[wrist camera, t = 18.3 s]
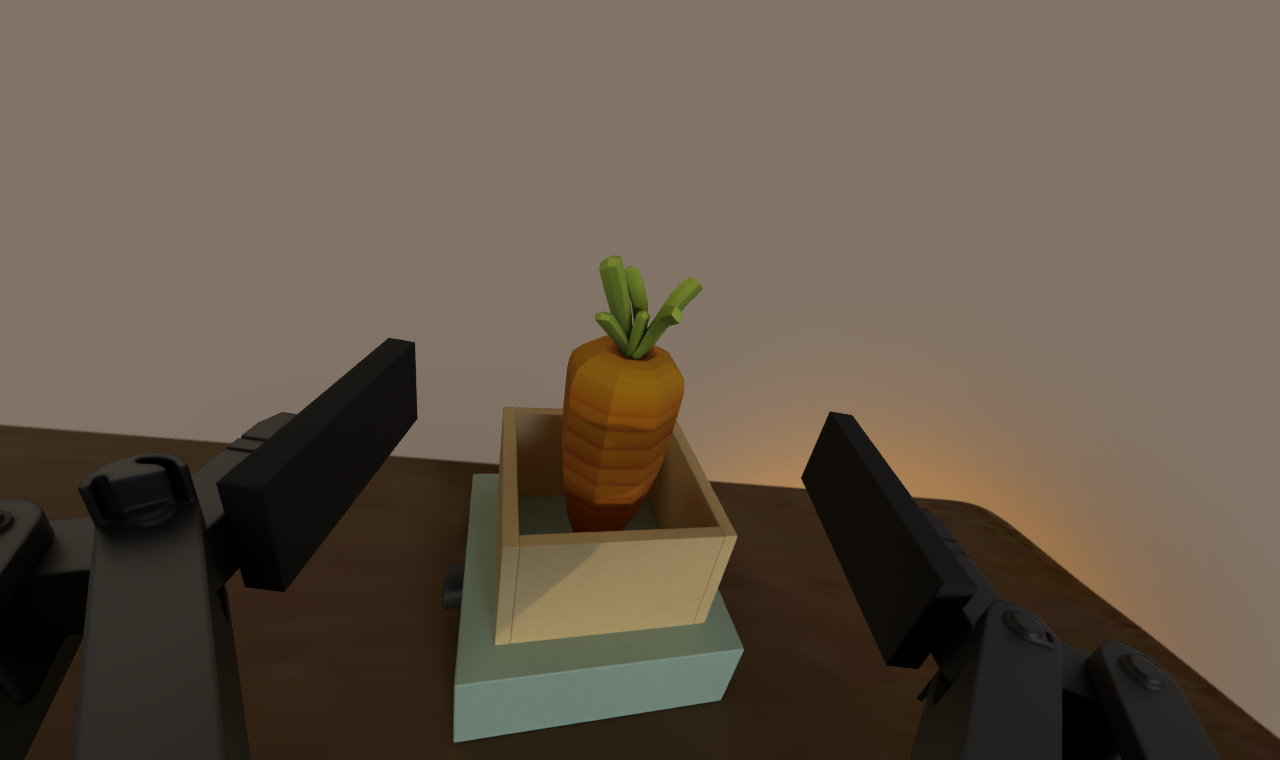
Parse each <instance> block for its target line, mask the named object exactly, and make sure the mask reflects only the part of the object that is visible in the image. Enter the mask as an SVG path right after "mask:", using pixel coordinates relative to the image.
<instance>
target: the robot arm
mask: <svg viewBox="0 0 1280 760" xmlns="http://www.w3.org/2000/svg"><path fill="white" fill-rule="evenodd" d="M415 361H416V360H415V342H410V341H404V340H399V339H392V338H388V339H387V340H386V341H385V342H383V343H382V344H381V345H380V346H379V347H377V348H376V349H375V350H374V351H373V352H371V353H370V354H369V355H368V356H367V357H365V358H364V359H363V360H362V361H361V362H359V363H358V364H357V365H356V366H355V367H353V368H352V369H351V370H350V371H349V372H347V373H346V374H345V375H344V376H343V377H342V378H340V379H339V380H338V381H337V382H336V383H334V384H333V385H332V386H331V387H329V388H328V389H327V390H326V391H325V392H324V393H322V394H321V395H320V396H319V397H318V398H316V399H315V400H314V401H313V402H312V403H310V404H309V405H308V406H307V407H306V408H304V409H303V410H302V411H301V412H300V413H298V414H291V413H284V412H282V413H279V414H277V415H275V416H272V417H270V418H268V419H265V420H263V421H261V422H259V423H257V424H256V425H255V426H253V427H252V428H251V429H249V430H248V431H247V432H246V433H244V434H243V435H242V437H241V439H239V438H238V439H237V440H235V441H234V442H233V443H231V444H230V445H229V446H227V449H226V450H222V451H221V452H220V453H218V454H217V455H216V456H215V457H213V458H212V459H211V460H209V461H208V462H207V463H205V464H204V465H203V466H202V467H200V468H199V469H198V470H196V471H195V472H194V473H193V474H190V470H189V467H188V464H187V463H186V461H185V460H184V458H183V457H180V456H178V455H175V454H172V453H160V452H154V453H145V454H136V455H133V456H129V457H125V458H121V459H118V460H115V461H112V462H110V463H108V464H106V465H104V466H101V467H99V468H97V469H96V470H94V471H93V472H92V473H90V474H89V475H88V476H86V477H85V478H84V479H83V480H82V482H81V484H80V486H79V487H78V490H79V492H80V494H81V496H82V498H83V501H84V503H85V505H86V507H87V509H88V512H89V514H90V516H91V517H79V518H67V519H55V520H48V519H47V517H46V515H45V513H44V511H43V509H42V508H41V507H40V506H39V504H38V503H37V502H34V501H30V500H26V499H2V500H0V760H24V758H25V756H26V754H27V752H28V750H29V748H30V746H31V744H32V742H33V740H34V738H35V736H36V734H37V732H38V730H39V728H40V726H41V724H42V721H43V719H44V717H45V715H46V713H47V711H48V709H49V707H50V705H51V703H52V701H53V699H54V697H55V695H56V693H57V691H58V689H59V686H60V684H61V682H62V680H63V678H64V676H65V674H66V672H67V670H68V668H69V666H70V664H71V662H72V660H73V658H74V656H75V654H76V652H77V649H78V647H79V645H80V643H81V641H82V639H83V643H82V653H81V662H80V672H79V681H78V691H77V700H76V710H75V719H74V729H73V738H72V748H71V757H70V760H251V758H250V750H249V743H248V736H247V729H246V722H245V715H244V708H243V700H242V693H241V686H240V679H239V672H238V665H237V658H236V650H235V643H234V636H233V629H232V622H231V615H230V607H229V600H228V594H227V590H226V587H225V583H226V582H227V581H228V580H229V579H230V578H231V577H232V575H233V574H234V573H235V572H236V571H237V570H238V569H239V568H240V570H241V574H242V577H243V581H244V585H245V587H247V588H255V589H264V590H272V591H280V592H285V591H286V589H287V588H288V587H289V586H290V584H291V583H292V582H293V580H294V579H295V578H296V576H297V575H298V574H299V573H300V571H301V570H302V569H303V567H304V566H305V565H306V563H307V562H308V561H309V559H310V558H311V557H312V556H313V554H314V553H315V552H316V550H317V549H318V548H319V546H320V545H321V544H322V542H323V541H324V540H325V539H326V537H327V536H328V535H329V533H330V532H331V531H332V529H333V528H334V527H335V526H336V524H337V523H338V522H339V520H340V519H341V518H342V516H343V515H344V514H345V512H346V511H347V510H348V509H349V507H350V506H351V505H352V503H353V502H354V501H355V499H356V498H357V497H358V496H359V494H360V493H361V492H362V490H363V489H364V488H365V486H366V485H367V484H368V482H369V481H370V480H371V479H372V477H373V476H374V475H375V473H376V472H377V471H378V469H379V468H380V467H381V466H382V464H383V463H384V462H385V460H386V459H387V458H388V456H389V455H390V454H391V452H392V451H393V450H394V448H395V447H396V446H397V445H398V443H399V442H400V441H401V439H402V438H403V437H404V435H405V434H406V433H407V432H408V430H409V429H410V428H411V426H412V425H413V423H414V422H415V421H416V420H417V392H416V362H415ZM801 479H802V481H803V483H804V485H805V487H806V490H807V492H808V494H809V496H810V498H811V501H812V503H813V505H814V507H815V509H816V512H817V514H818V516H819V518H820V520H821V523H822V525H823V527H824V529H825V531H826V534H827V536H828V538H829V540H830V542H831V545H832V547H833V549H834V551H835V553H836V556H837V558H838V560H839V562H840V564H841V567H842V569H843V571H844V573H845V575H846V578H847V580H848V582H849V584H850V586H851V588H852V591H853V593H854V595H855V597H856V599H857V602H858V604H859V606H860V608H861V610H862V613H863V615H864V617H865V619H866V621H867V624H868V626H869V628H870V630H871V632H872V635H873V637H874V639H875V641H876V643H877V646H878V648H879V650H880V652H881V654H882V657H883V659H884V661H885V663H886V665H887V666H895V667H903V668H911V669H919V667H920V666H921V665H922V663H923V662H924V661H925V659H926V658H927V657H928V655H929V654H930V653H931V654H932V655H933V657H934V659H935V661H936V663H937V665H938V666H939V668H940V669H939V670H938V671H937V673H936V674H935V675H934V677H933V678H932V679H931V680H930V682H929V683H928V684H927V685H926V687H925V688H924V689H923V691H922V692H921V693H920V695H919V696H918V697H917V699H918V700H920V701H921V702H922V701H923V700H924V699H925V698H926V697H927V699H926V702H925V706H924V709H923V713H922V717H921V720H920V724H919V727H918V731H917V734H916V738H915V742H914V745H913V749H912V752H911V756H910V759H909V760H1117V759H1118V758H1120V757H1121V760H1221V758H1220V757H1219V755H1218V753H1217V751H1216V749H1215V748H1214V746H1213V744H1212V742H1211V740H1210V739H1209V737H1208V735H1207V733H1206V732H1205V730H1204V728H1203V726H1202V724H1201V723H1200V721H1199V719H1198V717H1197V715H1196V714H1195V712H1194V710H1193V708H1192V707H1191V705H1190V703H1189V701H1188V699H1187V698H1186V696H1185V694H1184V692H1183V691H1182V689H1181V688H1180V687H1179V685H1178V684H1177V683H1176V681H1175V680H1174V679H1173V678H1172V677H1171V676H1170V675H1169V674H1168V673H1167V672H1166V671H1165V670H1164V669H1163V668H1162V667H1161V666H1160V665H1159V664H1158V663H1156V662H1155V661H1154V660H1153V659H1152V660H1151V659H1150V657H1148V656H1147V655H1145V654H1143V653H1142V652H1139V651H1137V650H1135V649H1134V648H1132V647H1130V646H1128V645H1125V644H1122V643H1119V642H1116V641H1105V642H1104V643H1103V644H1102V645H1101V646H1100V647H1099V648H1098V649H1097V650H1096V651H1095V652H1094V653H1093V654H1091V653H1089V652H1086V651H1084V650H1081V649H1078V648H1076V647H1073V646H1071V645H1068V644H1066V643H1063V642H1060V641H1059V639H1058V638H1057V636H1056V635H1055V634H1054V632H1053V631H1052V629H1051V628H1050V627H1049V626H1048V625H1047V624H1045V623H1044V622H1043V621H1042V620H1041V619H1040V618H1039V617H1038V616H1036V615H1035V614H1033V613H1032V612H1030V611H1029V610H1027V609H1026V608H1024V607H1022V606H1019V605H1017V604H1015V603H1013V602H1009V601H1005V600H1003V599H1002V598H1001V597H1000V596H999V594H998V593H997V592H996V590H995V589H994V588H993V586H992V585H991V584H990V582H989V581H988V580H987V579H986V577H985V576H984V575H983V573H982V572H981V571H980V569H979V568H978V567H977V565H976V564H975V563H974V562H973V560H972V559H971V558H970V556H969V555H966V551H965V550H964V548H963V547H962V546H961V544H960V543H959V542H956V538H955V537H954V535H953V534H952V533H951V531H950V530H949V529H948V527H947V526H946V525H945V524H944V523H943V522H942V521H941V520H940V519H939V518H937V517H936V516H935V515H934V514H933V513H931V512H930V511H929V510H928V509H926V508H920V507H919V506H918V505H917V503H916V502H915V500H914V499H913V498H912V496H911V495H910V494H909V492H908V491H907V490H906V488H905V487H904V485H903V484H902V483H901V481H900V480H899V479H898V477H897V476H896V474H895V473H894V472H893V470H892V469H891V468H890V466H889V465H888V464H887V462H886V461H885V459H884V458H883V457H882V455H881V454H880V453H879V451H878V450H877V448H876V447H875V446H874V444H873V443H872V442H871V440H870V439H869V437H868V436H867V435H866V434H865V432H864V431H863V429H862V428H861V427H860V425H859V424H858V422H857V421H856V420H855V418H854V417H853V416H852V415H848V414H842V413H836V412H829V415H828V417H827V419H826V422H825V424H824V426H823V428H822V431H821V433H820V435H819V438H818V440H817V442H816V445H815V447H814V449H813V452H812V454H811V456H810V458H809V461H808V463H807V465H806V468H805V470H804V473H803V475H802V477H801Z"/></svg>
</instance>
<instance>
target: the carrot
mask: <svg viewBox="0 0 1280 760" xmlns="http://www.w3.org/2000/svg"><path fill="white" fill-rule="evenodd" d="M599 270H600V274H601V279H602V283H603V287H604V291H605V294H606V298H607V301H608V304H609V308H610V311H611V314H610V313H607V312H600V313H597V314H595V320H596V321H597V322H598V323H599V325H600V326H601V327H602V328H603V329H604V331H605V332H606V333H607V334H608V335H609V336H604V337H601V338H598V339H596V340H593V341H590V342H588V343H585V344H583V345H581V346H579V347H578V348H576V349H575V350H573V352H572V354H571V356H570V358H569V362H568V367H567V376H566V386H565V396H564V406H563V421H562V436H561V446H562V464H563V477H564V488H565V498H566V507H567V515H568V518H569V521H570V524H571V527H572V530H573V533H583V532H606V531H623V529H624V528H625V527H626V526H627V525H628V523H629V522H630V521H631V520H632V519H633V517H634V516H635V515H636V514H637V512H638V510H639V508H640V507H641V505H642V503H643V501H644V499H645V498H646V496H647V494H648V492H649V490H650V488H651V486H652V484H653V482H654V480H655V478H656V476H657V474H658V472H659V470H660V468H661V465H662V462H663V459H664V456H665V453H666V450H667V447H668V444H669V441H670V438H671V435H672V432H673V429H674V425H675V422H676V418H677V415H678V412H679V409H680V405H681V402H682V398H683V394H684V378H683V377H682V375H681V373H680V371H679V369H678V367H677V366H676V364H675V362H674V360H673V358H672V357H671V355H670V354H669V353H668V352H667V351H665V350H664V349H662V348H660V347H658V346H655V345H654V344H655V343H656V341H657V340H658V339H659V338H660V336H661V335H662V334H663V333H664V332H665V330H666V329H667V328H668V327H669V326H670V325H675V324H679V322H680V321H681V319H682V316H683V314H682V313H681V311H682V310H683V309H684V308H685V306H686V305H687V304H688V303H689V302H690V301H691V300H692V299H693V298H694V297H695V296H696V295H697V294H698V293H699V292H700V291H701V290H702V286H701V284H700V283H699V282H698V281H697V280H695V279H693V278H691V277H688V278H687V279H686V280H684V281H683V282H682V283H681V284H679V286H678V287H677V288H676V289H675V290H674V291H673V292H672V293H671V294H670V295H669V297H668V299H667V300H666V302H665V303H664V305H663V306H662V308H661V309H660V311H659V312H658V314H657V316H656V317H655V318H654V320H653V321H652V323H651V324H650V326H649V327H648V329H647V323H648V321H649V318H650V315H649V314H648V302H647V297H646V292H645V287H644V283H643V280H642V277H641V274H640V271H639V268H635V267H628V268H626V269H624V266H623V262H622V259H621V256H611V257H609V258H607V259H605V260H603V261H602V262H601V263H600V269H599ZM629 296H630V297H629ZM630 299H631V302H632V309H633V317H634V325H633V326H632V314H631V306H630Z"/></svg>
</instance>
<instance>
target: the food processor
mask: <svg viewBox="0 0 1280 760" xmlns="http://www.w3.org/2000/svg"><path fill="white" fill-rule="evenodd" d="M562 421H563V409H549V408H515V407H504V408H503V422H502V437H501V453H500V467H499V474H474V475H473V481H472V492H471V503H470V514H469V525H468V536H467V547H466V558H465V563H463V564H448V565H447V566H446V571H445V579H444V591H443V608H444V609H451V608H461V614H460V625H459V636H458V647H457V658H456V669H455V680H454V722H453V741H454V742H461V741H467V740H474V739H480V738H486V737H493V736H499V735H505V734H511V733H518V732H524V731H530V730H537V729H543V728H549V727H555V726H562V725H568V724H574V723H581V722H587V721H593V720H600V719H606V718H612V717H618V716H625V715H631V714H637V713H644V712H650V711H656V710H663V709H669V708H675V707H681V706H688V705H694V704H700V703H707V702H713V701H719V700H721V699H722V696H723V694H724V692H725V690H726V688H727V686H728V683H729V681H730V679H731V677H732V675H733V672H734V670H735V668H736V666H737V664H738V662H739V659H740V657H741V655H742V653H743V651H744V648H743V646H742V643H741V641H740V639H739V636H738V634H737V632H736V629H735V627H734V625H733V622H732V620H731V618H730V615H729V613H728V611H727V608H726V606H725V604H724V601H723V599H722V597H721V595H720V592H719V590H718V586H719V584H720V581H721V578H722V576H723V573H724V571H725V568H726V565H727V563H728V560H729V558H730V555H731V552H732V550H733V547H734V544H735V542H736V539H737V534H736V533H735V531H734V529H733V527H732V525H731V523H730V521H729V519H728V517H727V515H726V514H725V512H724V510H723V508H722V506H721V504H720V502H719V500H718V498H717V496H716V495H715V493H714V491H713V489H712V487H711V485H710V483H709V481H708V479H707V477H706V476H705V474H704V472H703V470H702V468H701V466H700V464H699V462H698V460H697V458H696V457H695V455H694V453H693V451H692V449H691V447H690V445H689V443H688V442H687V439H686V437H685V436H684V434H683V432H682V430H681V428H680V426H679V424H678V422H677V420H676V422H675V425H674V429H673V432H672V435H671V438H670V441H669V444H668V447H667V450H666V453H665V456H664V459H663V462H662V465H661V468H660V470H659V472H658V474H657V476H656V478H655V480H654V482H653V484H652V486H651V488H650V490H649V492H648V494H647V496H646V498H645V499H644V501H643V503H642V505H641V507H640V508H639V510H638V512H637V514H636V515H635V516H634V517H633V519H632V520H631V521H630V522H629V523H628V525H627V526H626V527H625V528H624V529H623V531H606V532H583V533H573V530H572V527H571V524H570V521H569V518H568V515H567V507H566V498H565V488H564V477H563V464H562V446H561V436H562Z"/></svg>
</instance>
